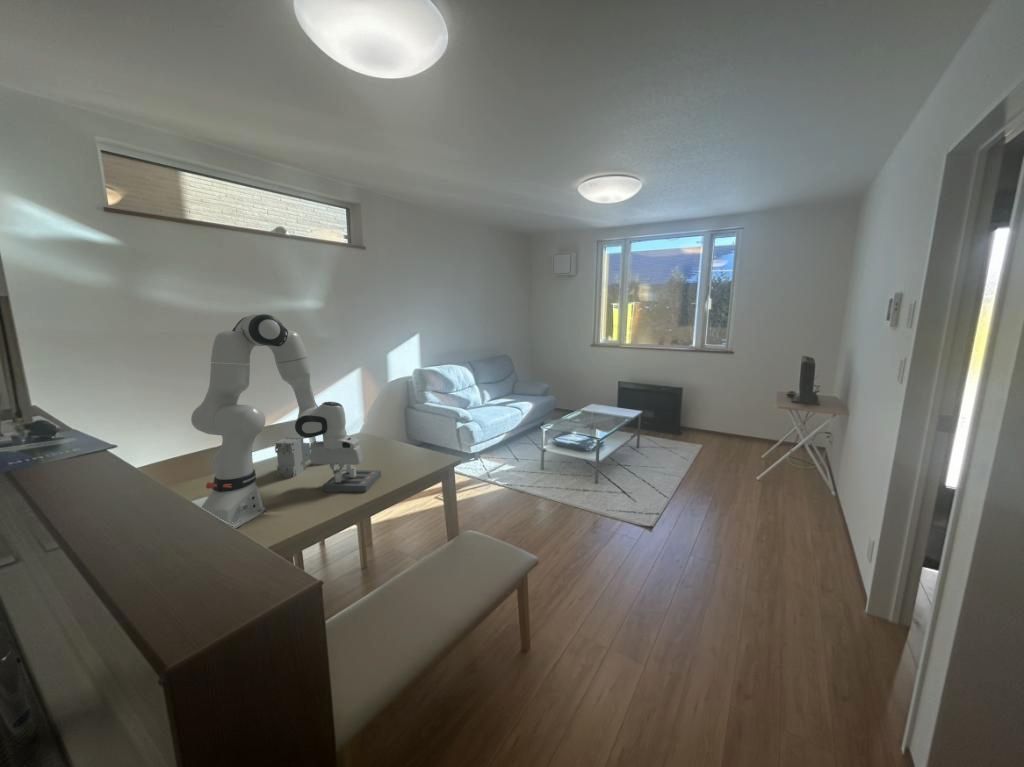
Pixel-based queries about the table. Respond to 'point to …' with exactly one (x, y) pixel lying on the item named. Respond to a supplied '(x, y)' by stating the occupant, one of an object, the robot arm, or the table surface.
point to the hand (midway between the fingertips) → (337, 473)
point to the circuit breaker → (292, 456)
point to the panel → (353, 481)
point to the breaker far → (349, 468)
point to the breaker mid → (352, 472)
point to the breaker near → (338, 476)
